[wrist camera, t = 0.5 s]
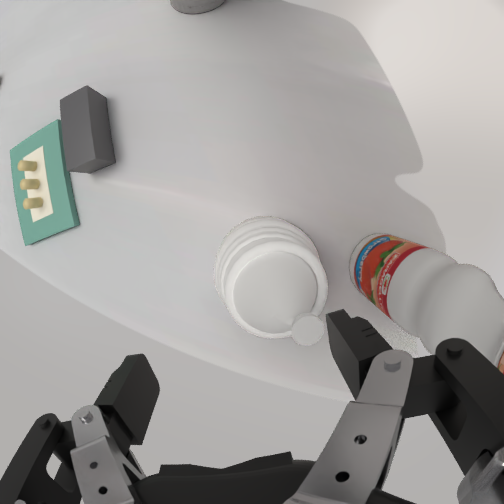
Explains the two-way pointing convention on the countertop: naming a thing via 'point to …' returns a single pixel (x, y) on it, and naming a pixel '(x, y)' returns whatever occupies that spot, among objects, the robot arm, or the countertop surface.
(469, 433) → the robot arm
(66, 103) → the block
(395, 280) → the fruit juice
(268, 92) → the countertop surface
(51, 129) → the header board
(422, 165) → the countertop surface
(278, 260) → the honey pot
